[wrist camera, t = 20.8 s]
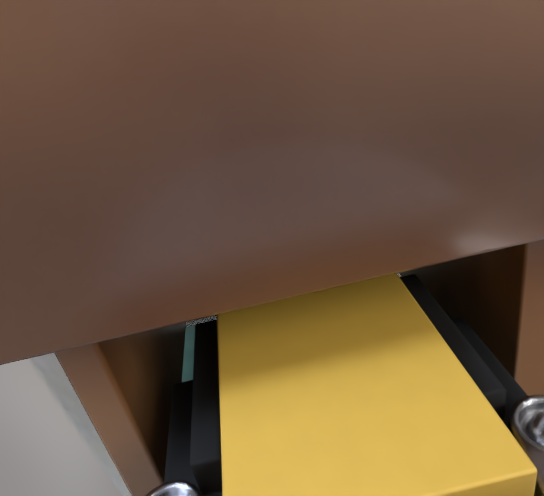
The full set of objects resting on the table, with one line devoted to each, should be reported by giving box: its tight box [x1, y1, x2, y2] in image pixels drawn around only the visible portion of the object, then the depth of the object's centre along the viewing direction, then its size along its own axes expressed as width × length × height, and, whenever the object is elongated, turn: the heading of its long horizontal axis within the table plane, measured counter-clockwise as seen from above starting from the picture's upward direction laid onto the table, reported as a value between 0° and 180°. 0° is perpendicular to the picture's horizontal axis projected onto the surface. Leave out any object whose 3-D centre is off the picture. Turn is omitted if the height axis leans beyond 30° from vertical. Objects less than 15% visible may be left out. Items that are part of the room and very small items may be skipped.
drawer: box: [54, 239, 544, 496], centre depth 14 cm, size 20×11×9 cm, turn 10°
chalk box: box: [217, 274, 537, 496], centre depth 10 cm, size 4×4×7 cm
